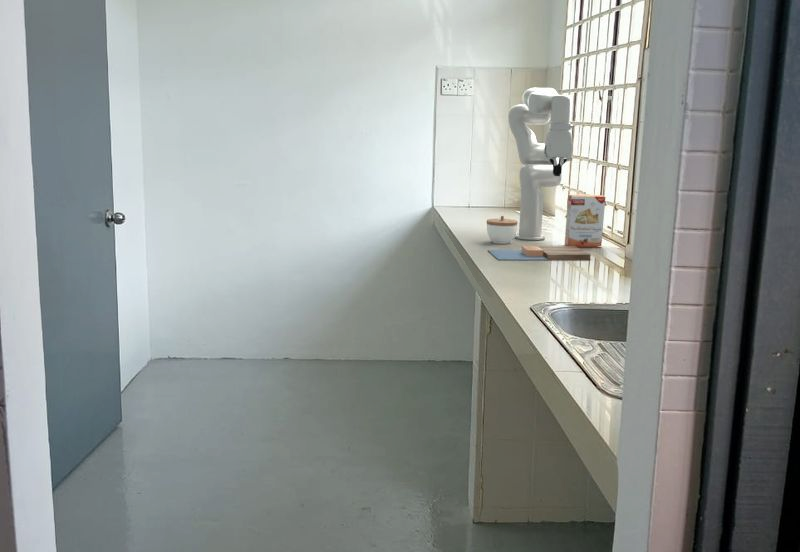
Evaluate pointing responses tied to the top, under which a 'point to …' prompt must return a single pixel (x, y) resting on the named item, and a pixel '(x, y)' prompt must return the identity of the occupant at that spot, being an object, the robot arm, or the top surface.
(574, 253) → the board
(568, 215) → the cracker box
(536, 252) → the block
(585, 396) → the top surface
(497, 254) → the mat
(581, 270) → the top surface
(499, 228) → the lidded bowl
